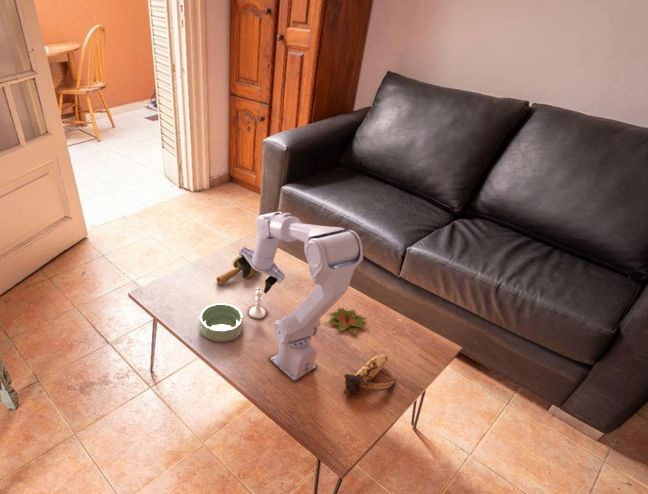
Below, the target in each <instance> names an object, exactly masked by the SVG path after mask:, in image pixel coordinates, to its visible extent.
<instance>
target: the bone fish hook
mask: <svg viewBox="0 0 648 494" xmlns="http://www.w3.org/2000/svg"><path fill="white" fill-rule="evenodd" d="M387 361H388V355H387V354H386V353H379V354H376V355H375V356H374V357H372V358H371V359H370V360H368V361H367V362H366V363H365V364H364V365H363V366H362V367H361V368H360V369H359V370H358V371H357V372H356V373H355V374H349V373H344V375H343V377H344V379H345V380H344V383H345V387H344V388H343V394H344V395H345V396H347V397H348V398H349V397H350V398H351V397H353V396H356V395H357V394H359V393H360V391H361V390H366V391H370V392H371V391H373V392H377V391H384V390H387V389H390V388H391V387H392V386H393V385H394V382H395V381H394V380H392V381H389V382H383V383H382V382H381V383H380V382H379V383H375V382H371V381H372V380H373V379H374V378H376V376H377V375H378V373H379V372H380V371H381V370H382V369H383V367H384V366H385V364H386V363H387Z"/></svg>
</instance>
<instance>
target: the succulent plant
mask: <svg viewBox="0 0 648 494" xmlns="http://www.w3.org/2000/svg"><path fill="white" fill-rule="evenodd" d="M329 315H330V316H331V317H333V318H330V320H329V321H328V322H327V324H329V325H335V326H338V333H339V332H342V331H344V330H347V331H348V332H351V333H352V334H354V335H355V336H356V335H357V332H358V327H359V328H362V329H366V326H365V325H364V323H363V322H364V321H365V320H366V319H367V317H364V316H362V315H357V312H356V311H355V310H349V308H348V307H347V308H346V309H344V308H343V307H342V308H341V307H339V306H338V309H337V310H336V311H335V312H331V313H329Z"/></svg>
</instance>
